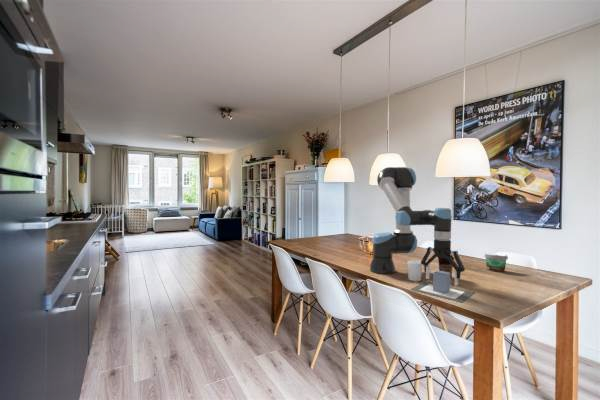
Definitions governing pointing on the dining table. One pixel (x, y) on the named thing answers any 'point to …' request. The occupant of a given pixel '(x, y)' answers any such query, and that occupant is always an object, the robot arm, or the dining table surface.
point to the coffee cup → (445, 265)
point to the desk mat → (458, 299)
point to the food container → (495, 262)
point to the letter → (451, 293)
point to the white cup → (414, 270)
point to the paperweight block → (441, 281)
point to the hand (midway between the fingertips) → (441, 281)
